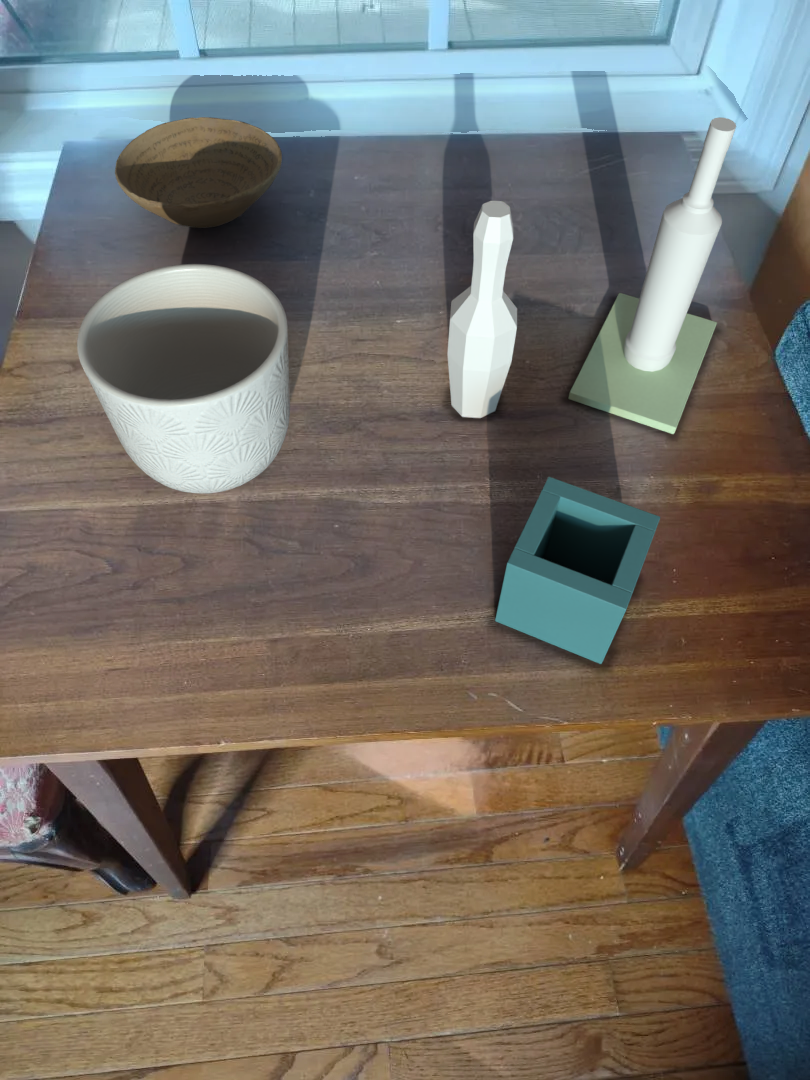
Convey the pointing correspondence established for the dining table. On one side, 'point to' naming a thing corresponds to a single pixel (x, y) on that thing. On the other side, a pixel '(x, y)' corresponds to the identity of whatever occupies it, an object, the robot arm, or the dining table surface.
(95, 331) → the planter
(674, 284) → the bottle
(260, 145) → the bowl
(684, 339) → the mat
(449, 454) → the dining table surface
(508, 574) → the holster
